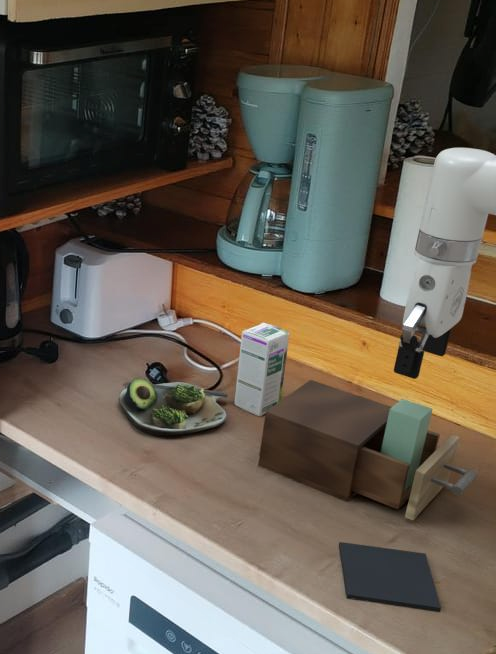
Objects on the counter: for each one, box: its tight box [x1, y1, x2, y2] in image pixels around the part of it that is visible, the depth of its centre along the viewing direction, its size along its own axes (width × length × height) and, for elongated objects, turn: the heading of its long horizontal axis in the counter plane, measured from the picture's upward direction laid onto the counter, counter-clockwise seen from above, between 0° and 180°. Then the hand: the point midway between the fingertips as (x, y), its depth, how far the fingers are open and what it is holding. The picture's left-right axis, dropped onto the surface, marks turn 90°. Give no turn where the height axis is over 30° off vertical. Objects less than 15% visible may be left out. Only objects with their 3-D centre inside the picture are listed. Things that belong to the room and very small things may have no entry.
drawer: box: [351, 426, 478, 521], centre depth 132 cm, size 18×13×8 cm
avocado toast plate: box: [118, 378, 229, 437], centre depth 155 cm, size 19×18×5 cm
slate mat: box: [338, 541, 442, 612], centre depth 117 cm, size 11×11×1 cm
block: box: [381, 398, 433, 491], centre depth 131 cm, size 4×4×12 cm
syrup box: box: [233, 322, 291, 417], centre depth 155 cm, size 6×6×14 cm
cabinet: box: [257, 379, 393, 503], centre depth 139 cm, size 15×15×10 cm
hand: (419, 363), depth 125 cm, fingers open, 9 cm apart
